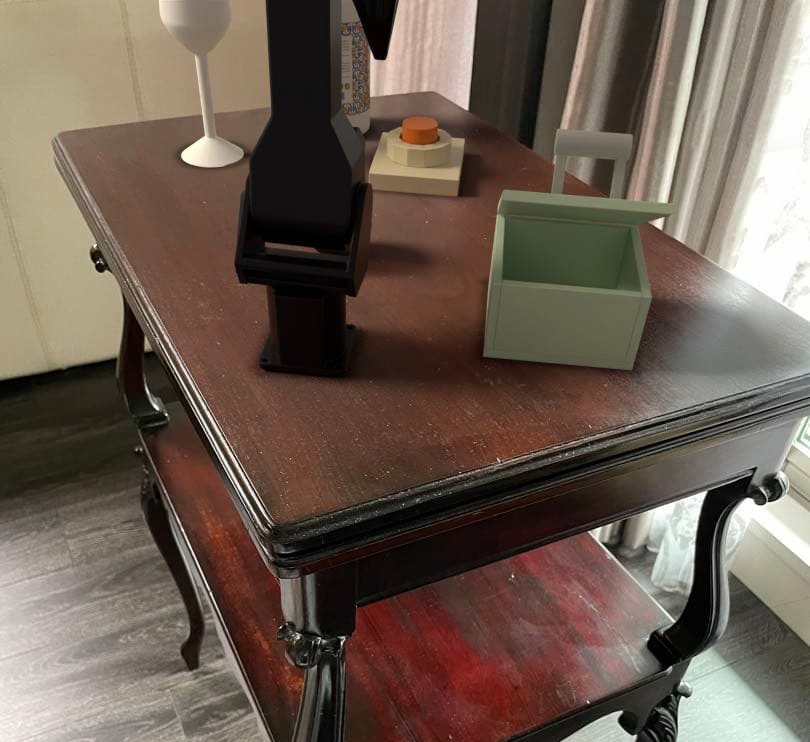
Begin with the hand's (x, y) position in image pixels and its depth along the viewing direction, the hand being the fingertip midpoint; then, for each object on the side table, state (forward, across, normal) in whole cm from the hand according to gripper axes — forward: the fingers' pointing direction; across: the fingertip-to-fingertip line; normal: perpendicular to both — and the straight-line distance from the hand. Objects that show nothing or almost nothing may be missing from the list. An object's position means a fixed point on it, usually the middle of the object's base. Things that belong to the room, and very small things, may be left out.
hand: (380, 59), depth 75 cm
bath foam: (+12, +17, +7) cm, 22 cm away
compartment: (+13, -21, -18) cm, 30 cm away
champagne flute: (+12, +6, +19) cm, 23 cm away
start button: (+9, +7, -3) cm, 12 cm away
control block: (+12, +7, -3) cm, 14 cm away
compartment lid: (+3, -21, -17) cm, 28 cm away
